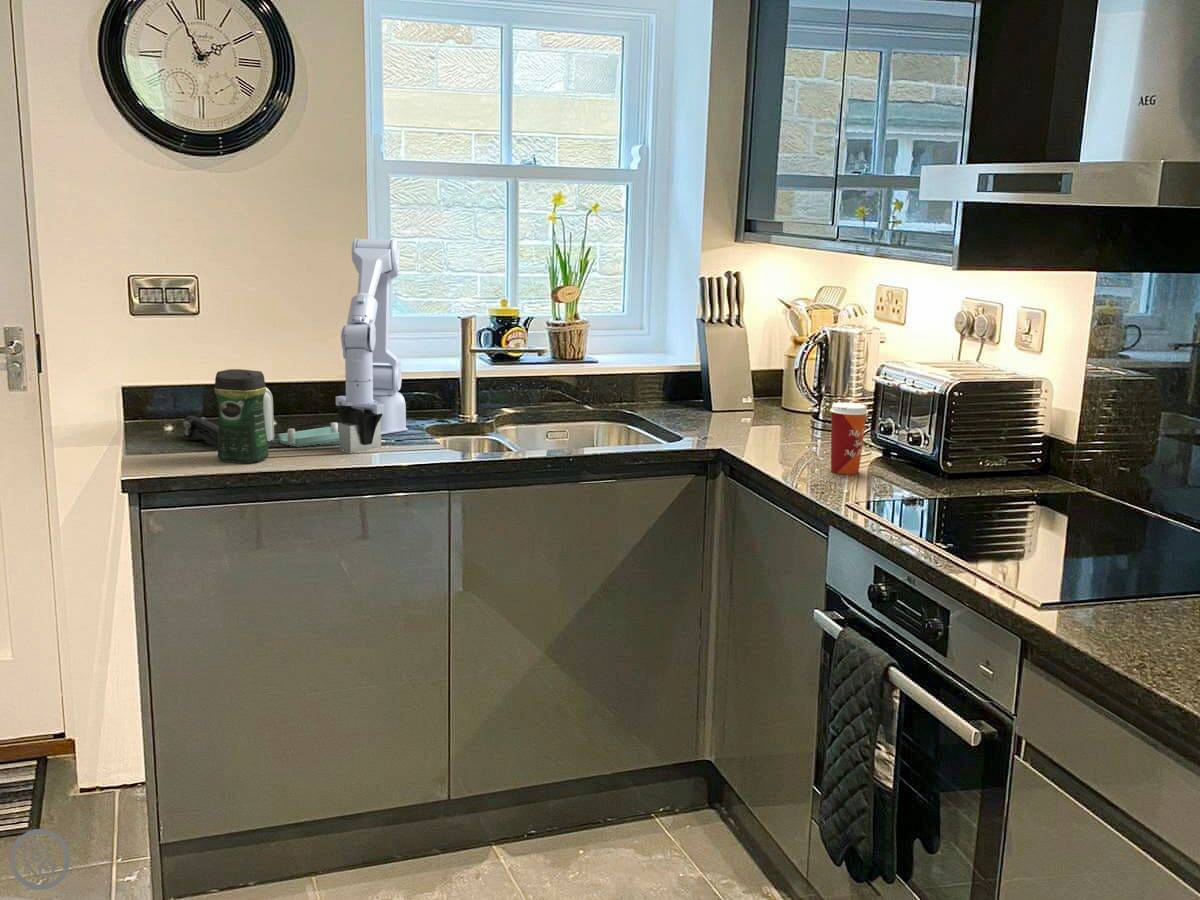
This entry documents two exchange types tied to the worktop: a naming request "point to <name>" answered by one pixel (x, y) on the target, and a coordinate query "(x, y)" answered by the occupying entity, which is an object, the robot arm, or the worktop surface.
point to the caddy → (310, 436)
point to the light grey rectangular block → (356, 437)
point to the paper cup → (847, 437)
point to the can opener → (201, 430)
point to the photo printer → (268, 414)
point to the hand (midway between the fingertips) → (360, 442)
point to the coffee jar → (241, 416)
